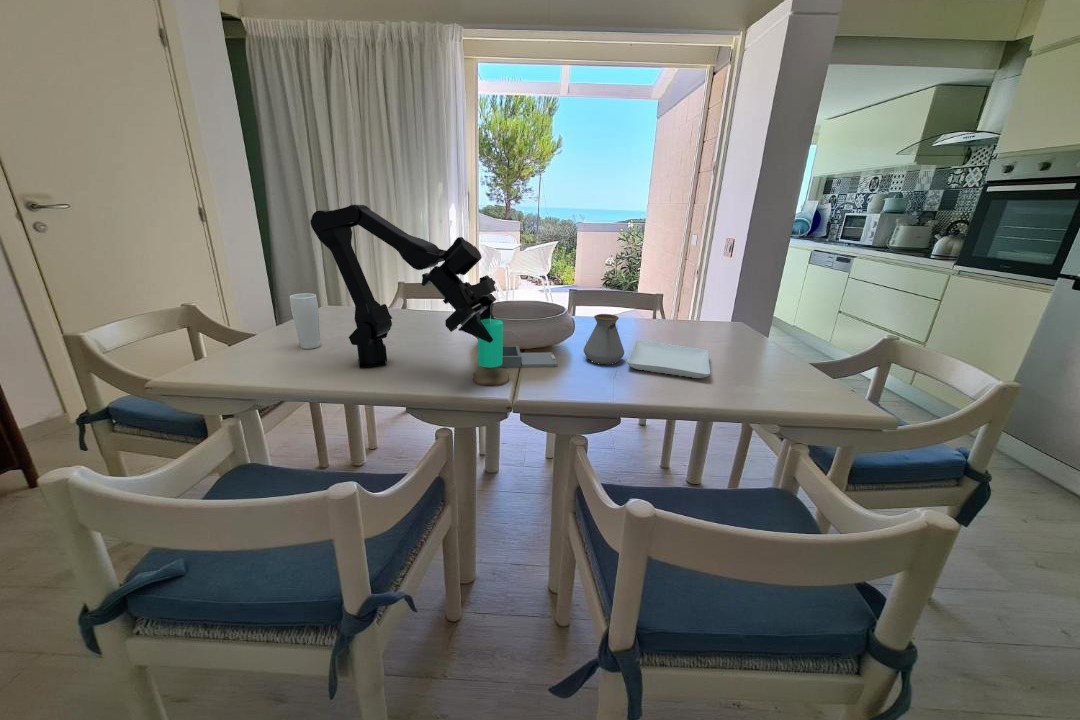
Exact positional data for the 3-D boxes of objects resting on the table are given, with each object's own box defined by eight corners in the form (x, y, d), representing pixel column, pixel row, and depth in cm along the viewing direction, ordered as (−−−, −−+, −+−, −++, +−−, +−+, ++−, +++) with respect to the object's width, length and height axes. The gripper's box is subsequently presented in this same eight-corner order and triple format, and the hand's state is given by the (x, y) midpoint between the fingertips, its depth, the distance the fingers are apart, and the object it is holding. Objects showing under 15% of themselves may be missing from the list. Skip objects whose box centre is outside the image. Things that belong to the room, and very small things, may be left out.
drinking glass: (300, 344, 127) (291, 293, 122) (325, 342, 129) (318, 292, 124) (295, 351, 121) (286, 298, 116) (321, 349, 123) (314, 297, 117)
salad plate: (709, 385, 109) (711, 373, 107) (624, 373, 115) (626, 361, 114) (706, 359, 128) (708, 348, 126) (634, 350, 134) (635, 339, 133)
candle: (495, 369, 102) (495, 320, 97) (473, 364, 104) (472, 316, 100) (506, 361, 107) (507, 314, 103) (485, 357, 109) (485, 311, 105)
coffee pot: (581, 352, 128) (585, 303, 123) (620, 354, 128) (625, 305, 123) (585, 380, 108) (590, 322, 103) (631, 382, 108) (638, 324, 103)
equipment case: (485, 367, 114) (485, 357, 113) (484, 355, 123) (484, 345, 122) (557, 366, 116) (557, 356, 115) (551, 355, 125) (552, 345, 124)
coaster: (479, 388, 101) (479, 383, 101) (468, 375, 109) (468, 370, 108) (514, 383, 105) (514, 378, 104) (502, 370, 112) (502, 366, 112)
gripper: (457, 270, 90) (506, 327, 91) (488, 260, 107) (530, 308, 108) (424, 304, 94) (472, 357, 95) (459, 289, 111) (499, 335, 112)
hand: (495, 338), depth 103 cm, fingers closed on candle, 5 cm apart
